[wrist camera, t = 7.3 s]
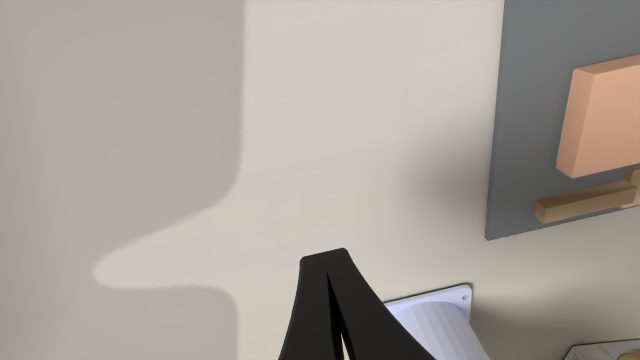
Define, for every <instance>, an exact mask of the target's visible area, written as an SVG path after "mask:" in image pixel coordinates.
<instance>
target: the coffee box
mask: <svg viewBox="0 0 640 360" xmlns="http://www.w3.org/2000/svg"><path fill="white" fill-rule="evenodd" d="M564 360H640V339H639V340H629V341H619V342H609V343H599V344H590V345H580V346H573V347H572V349H571V350H570V351H569V353H568V354H567V356H566V357H565V359H564Z"/></svg>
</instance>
